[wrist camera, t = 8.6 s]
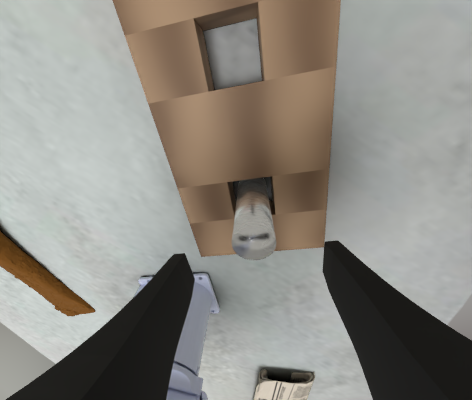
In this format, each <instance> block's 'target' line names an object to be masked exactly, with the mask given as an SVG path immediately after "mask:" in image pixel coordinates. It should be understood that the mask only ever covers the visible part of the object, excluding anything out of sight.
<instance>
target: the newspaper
mask: <svg viewBox="0 0 472 400" xmlns="http://www.w3.org/2000/svg"><path fill="white" fill-rule="evenodd" d="M314 379H315V375H314V372H313V374H311V372H308V373H295V372H292V375H291V379H290V383H287V382H280V381H273V380H269V379H268V376H267V371H266V370H264V369H263V370H262V371H261V372H260V373H259V384H258V385H257V387H256V391H255V396H254V400H307V397H308V395H309V392H310V389H311V387H312V384H313V381H314Z"/></svg>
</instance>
